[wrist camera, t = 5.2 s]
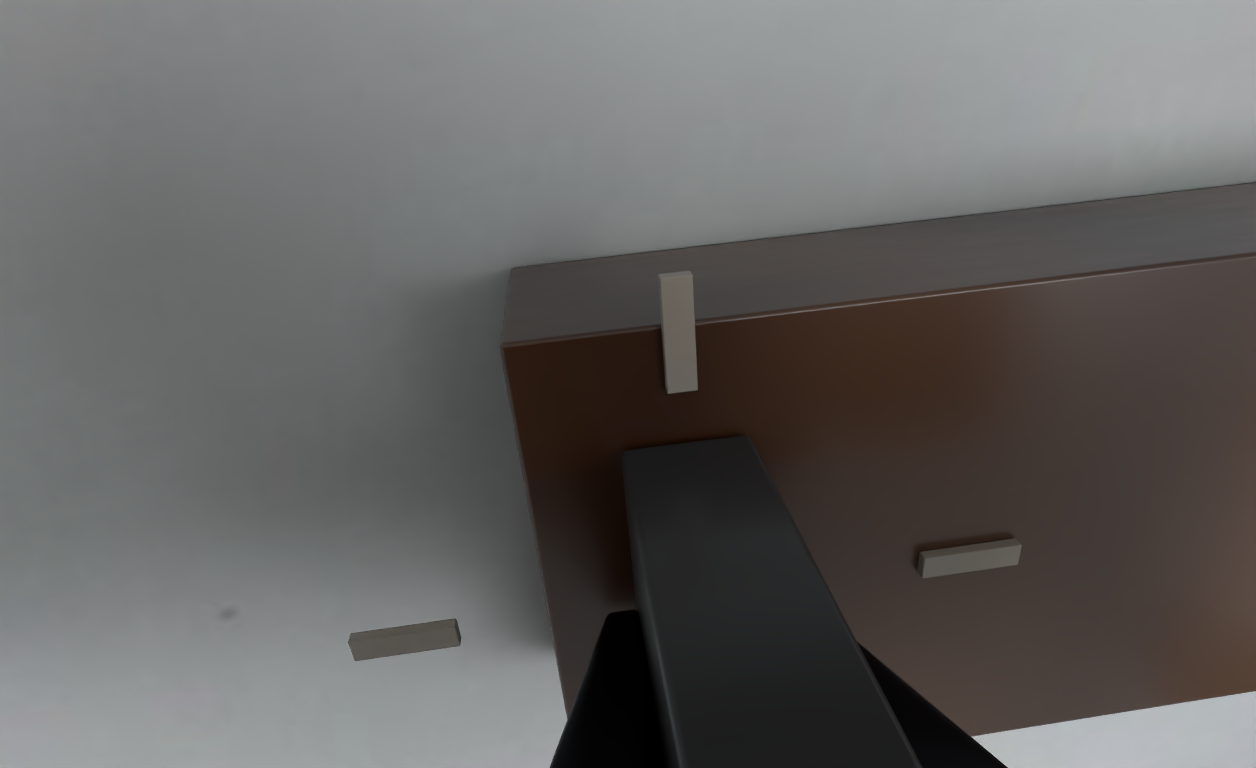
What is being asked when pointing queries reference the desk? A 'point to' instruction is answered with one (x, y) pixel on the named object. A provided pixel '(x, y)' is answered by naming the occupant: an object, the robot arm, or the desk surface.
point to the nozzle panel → (930, 440)
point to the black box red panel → (744, 622)
